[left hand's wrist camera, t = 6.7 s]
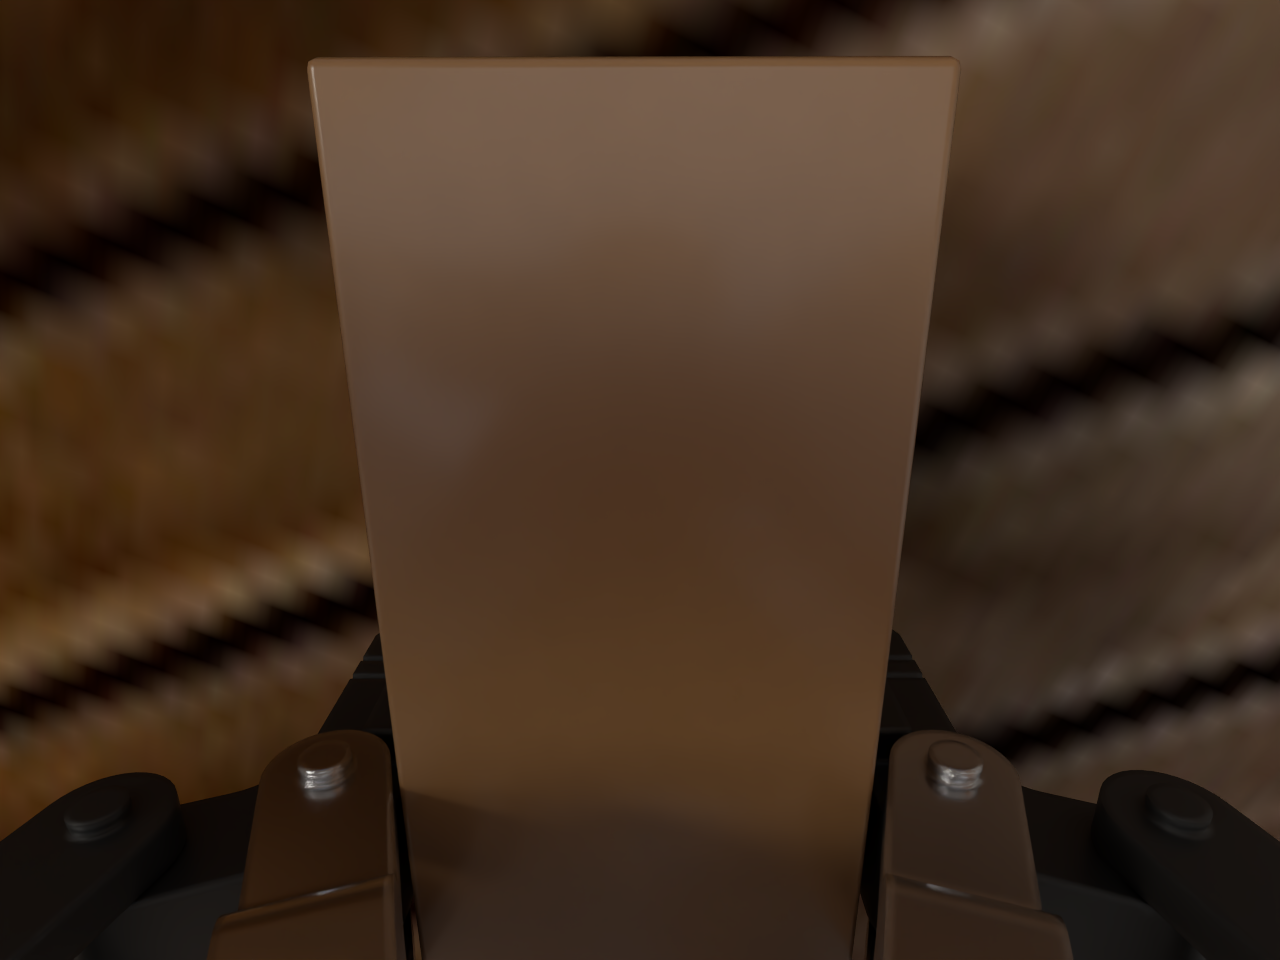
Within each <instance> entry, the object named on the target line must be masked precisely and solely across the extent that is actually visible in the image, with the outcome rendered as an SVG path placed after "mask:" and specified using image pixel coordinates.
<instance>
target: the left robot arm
mask: <svg viewBox="0 0 1280 960" xmlns="http://www.w3.org/2000/svg"><path fill="white" fill-rule="evenodd" d="M860 893H861V897H862V900H863V903H864V906H865V909H866V913H867V915H868V925H867V933H866V945H865V959H864V960H1280V842H1279V841H1278V840H1277V839H1275V838H1274V837H1273V836H1271V835H1270V834H1269V833H1267V832H1266V831H1265V830H1263V829H1262V828H1261V827H1259V826H1258V825H1257V824H1255V823H1254V822H1252V821H1251V820H1250V819H1248V818H1247V817H1246V816H1244V815H1243V814H1242V813H1240V812H1239V811H1238V810H1236V809H1235V808H1234V807H1232V806H1231V805H1230V804H1228V803H1227V802H1225V801H1224V800H1223V799H1221V798H1220V797H1218V796H1217V795H1215V794H1213V793H1211V792H1210V791H1208V790H1206V789H1204V788H1202V787H1200V786H1198V785H1196V784H1194V783H1191V782H1189V781H1186V780H1184V779H1181V778H1178V777H1175V776H1171V775H1168V774H1164V773H1159V772H1154V771H1144V770H1129V771H1122V772H1119V773H1116V774H1113V775H1111V776H1110V777H1108V778H1107V779H1106V780H1105V781H1104V782H1103V784H1102V786H1101V789H1100V793H1099V797H1098V801H1097V804H1094V803H1089V802H1085V801H1080V800H1075V799H1071V798H1066V797H1062V796H1057V795H1053V794H1048V793H1044V792H1040V791H1036V790H1032V789H1029V788H1026V787H1023V786H1021V782H1020V779H1019V775H1018V773H1017V772H1016V770H1015V768H1014V767H1013V765H1012V764H1011V763H1010V762H1009V761H1008V760H1007V759H1006V758H1005V757H1004V756H1003V755H1002V754H1001V753H999V752H998V751H997V750H995V749H994V748H992V747H991V746H989V745H987V744H985V743H984V742H981V741H979V740H977V739H975V738H972V737H969V736H966V735H963V734H960V733H956V731H955V729H954V727H953V726H952V724H951V722H950V721H949V719H948V717H947V715H946V714H945V712H944V710H943V709H942V707H941V705H940V703H939V702H938V700H937V698H936V697H935V695H934V693H933V691H932V690H931V688H930V686H929V684H928V683H927V681H926V679H925V678H922V672H921V671H920V669H919V667H918V666H917V664H916V662H915V660H912V655H911V653H910V652H909V650H908V648H907V647H906V645H905V643H904V641H903V640H902V638H901V636H900V635H899V634H898V633H896V632H895V631H894V630H892V634H891V643H890V651H889V659H888V667H887V675H886V683H885V692H884V700H883V708H882V716H881V724H880V732H879V740H878V749H877V757H876V765H875V773H874V781H873V789H872V797H871V806H870V814H869V822H868V830H867V838H866V846H865V854H864V863H863V871H862V879H861V887H860ZM413 896H414V894H413V887H412V879H411V871H410V863H409V856H408V848H407V840H406V832H405V825H404V817H403V809H402V801H401V794H400V786H399V778H398V770H397V763H396V755H395V747H394V739H393V732H392V724H391V716H390V708H389V701H388V693H387V685H386V677H385V670H384V662H383V654H382V647H381V639H380V633H379V634H378V635H376V636H375V638H374V640H373V641H372V643H371V645H370V647H369V648H368V650H367V652H366V653H365V655H364V657H363V661H361V662H360V663H359V665H358V667H357V669H356V670H355V672H354V674H353V679H350V680H349V682H348V684H347V685H346V687H345V689H344V691H343V692H342V694H341V696H340V697H339V699H338V701H337V702H336V704H335V706H334V707H333V709H332V711H331V713H330V714H329V716H328V718H327V719H326V721H325V723H324V724H323V726H322V728H321V729H320V731H319V733H318V734H317V735H314V736H311V737H308V738H305V739H303V740H301V741H299V742H297V743H295V744H293V745H291V746H289V747H288V748H286V749H285V750H283V751H282V752H281V753H279V754H278V755H277V756H276V757H275V758H274V759H273V760H272V761H271V762H270V763H269V764H268V766H267V767H266V768H265V770H264V772H263V773H262V776H261V779H260V782H259V785H257V786H254V787H251V788H248V789H246V790H242V791H239V792H235V793H231V794H226V795H222V796H217V797H213V798H208V799H204V800H199V801H195V802H190V803H186V804H181V805H180V802H179V798H178V794H177V791H176V788H175V785H174V784H173V783H172V782H171V781H170V780H169V779H167V778H165V777H164V776H161V775H158V774H153V773H142V772H135V773H126V774H120V775H115V776H110V777H107V778H103V779H100V780H97V781H94V782H92V783H89V784H86V785H84V786H82V787H80V788H78V789H75V790H73V791H71V792H70V793H68V794H66V795H64V796H63V797H61V798H59V799H58V800H56V801H55V802H53V803H52V804H50V805H49V806H48V807H46V808H45V809H44V810H42V811H41V812H40V813H38V814H37V815H36V816H34V817H33V818H32V819H30V820H29V821H27V822H26V823H25V824H23V825H22V826H21V827H19V828H18V829H17V830H15V831H14V832H13V833H11V834H10V835H9V836H7V837H6V838H5V839H3V840H2V841H1V842H0V960H416V958H415V944H414V932H413V924H412V917H411V909H410V905H411V902H412V899H413Z"/></svg>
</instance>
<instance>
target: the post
mask: <svg viewBox="0 0 1280 960" xmlns="http://www.w3.org/2000/svg"><path fill="white" fill-rule="evenodd" d="M960 72H961V67H960V62H959V60H957V59H955V58H953V57H951V56H762V57H316V58H314V59H312V60H310V61H309V62H308V67H307V74H308V81H309V89H310V97H311V105H312V112H313V120H314V128H315V136H316V143H317V151H318V159H319V167H320V174H321V182H322V190H323V198H324V205H325V213H326V221H327V228H328V236H329V244H330V252H331V259H332V267H333V275H334V283H335V290H336V298H337V306H338V314H339V321H340V329H341V337H342V345H343V352H344V360H345V368H346V376H347V383H348V391H349V399H350V407H351V414H352V422H353V430H354V438H355V445H356V453H357V461H358V468H359V476H360V484H361V492H362V499H363V507H364V515H365V523H366V530H367V538H368V546H369V554H370V561H371V569H372V577H373V585H374V592H375V600H376V608H377V616H378V623H379V631H380V639H381V647H382V654H383V662H384V670H385V677H386V685H387V693H388V701H389V708H390V716H391V724H392V732H393V739H394V747H395V755H396V763H397V770H398V778H399V786H400V794H401V801H402V809H403V817H404V825H405V832H406V840H407V848H408V856H409V863H410V871H411V879H412V887H413V894H414V902H415V910H416V917H417V925H418V933H419V941H420V948H421V956H422V960H852V952H853V944H854V936H855V928H856V920H857V911H858V903H859V895H860V887H861V879H862V871H863V863H864V854H865V846H866V838H867V830H868V822H869V814H870V806H871V797H872V789H873V781H874V773H875V765H876V757H877V749H878V740H879V732H880V724H881V716H882V708H883V700H884V692H885V683H886V675H887V667H888V659H889V651H890V643H891V634H892V626H893V618H894V610H895V602H896V594H897V586H898V577H899V569H900V561H901V553H902V545H903V537H904V529H905V520H906V512H907V504H908V496H909V488H910V480H911V472H912V463H913V455H914V447H915V439H916V431H917V423H918V415H919V406H920V398H921V390H922V382H923V374H924V366H925V357H926V349H927V341H928V333H929V325H930V317H931V309H932V300H933V292H934V284H935V276H936V268H937V260H938V252H939V243H940V235H941V227H942V219H943V211H944V203H945V195H946V186H947V178H948V170H949V162H950V154H951V146H952V137H953V129H954V121H955V113H956V105H957V97H958V89H959V80H960Z"/></svg>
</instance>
